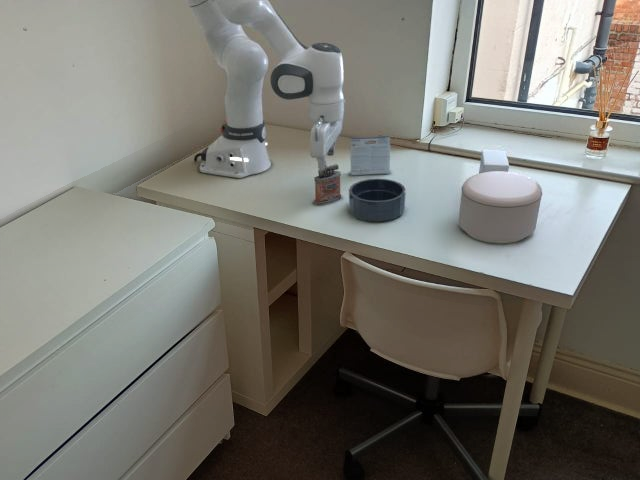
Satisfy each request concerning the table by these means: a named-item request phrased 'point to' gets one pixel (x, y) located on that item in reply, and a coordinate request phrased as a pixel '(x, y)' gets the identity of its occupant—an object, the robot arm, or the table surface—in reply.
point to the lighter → (327, 185)
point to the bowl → (377, 199)
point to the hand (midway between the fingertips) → (326, 161)
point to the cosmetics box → (493, 161)
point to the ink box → (370, 155)
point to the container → (499, 206)
